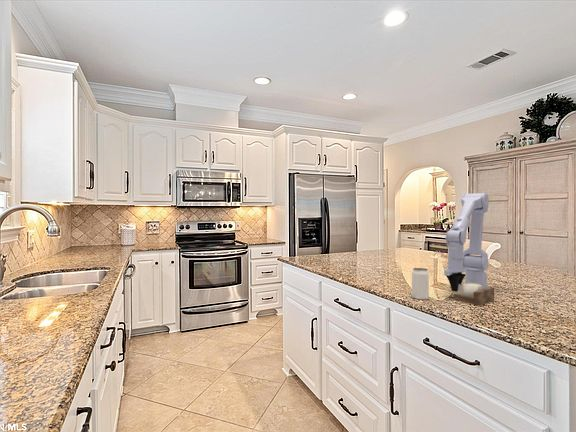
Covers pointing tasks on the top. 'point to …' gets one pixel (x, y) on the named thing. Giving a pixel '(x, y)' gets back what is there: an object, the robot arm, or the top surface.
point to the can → (420, 283)
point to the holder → (478, 297)
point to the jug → (468, 289)
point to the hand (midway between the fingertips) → (455, 290)
